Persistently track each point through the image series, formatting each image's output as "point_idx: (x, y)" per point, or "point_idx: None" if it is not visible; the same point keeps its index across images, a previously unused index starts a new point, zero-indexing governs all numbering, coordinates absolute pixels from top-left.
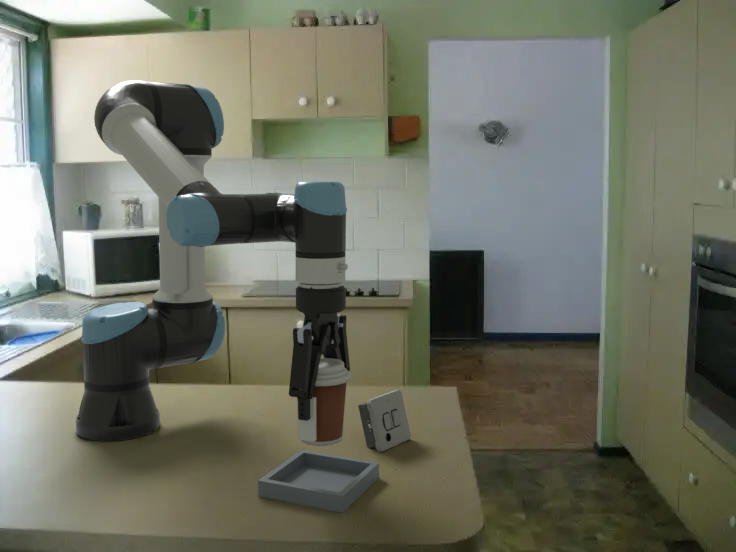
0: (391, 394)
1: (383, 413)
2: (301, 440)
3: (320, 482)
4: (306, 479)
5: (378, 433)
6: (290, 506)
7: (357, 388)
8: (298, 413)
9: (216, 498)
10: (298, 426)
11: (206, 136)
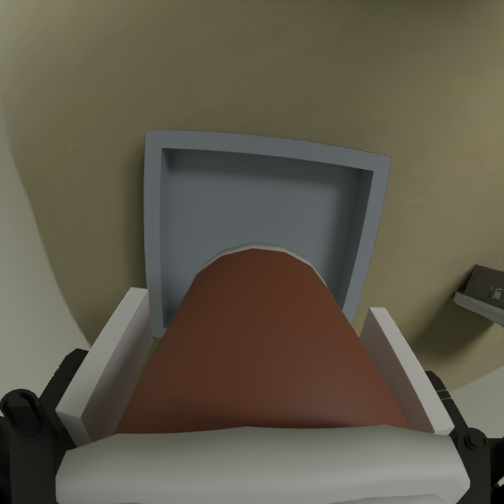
0: None
1: None
2: (215, 255)
3: (264, 242)
4: (271, 205)
5: (474, 311)
6: (141, 218)
7: None
8: (61, 367)
9: (122, 53)
10: (114, 316)
11: None
